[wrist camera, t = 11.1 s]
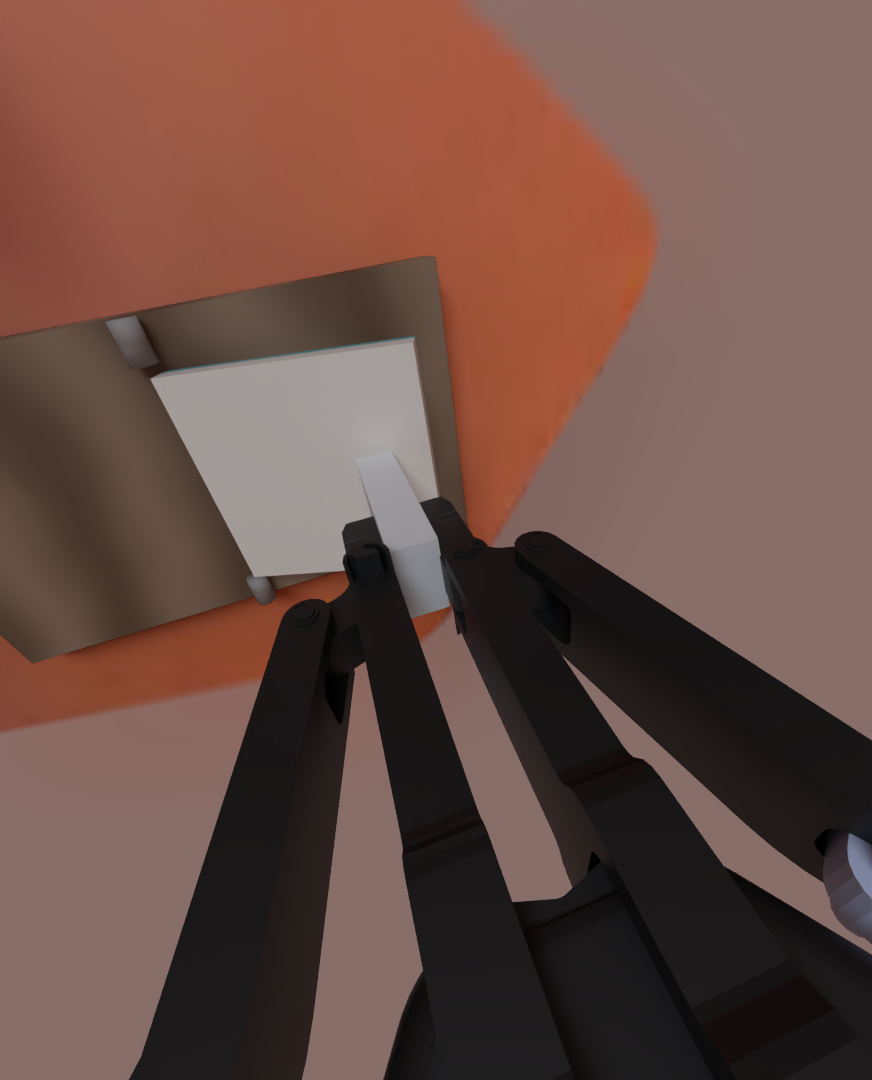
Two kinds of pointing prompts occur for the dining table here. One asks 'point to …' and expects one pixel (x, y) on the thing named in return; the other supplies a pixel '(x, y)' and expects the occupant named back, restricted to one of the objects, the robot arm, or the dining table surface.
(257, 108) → the dining table surface
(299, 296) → the hinge board
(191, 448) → the tile
